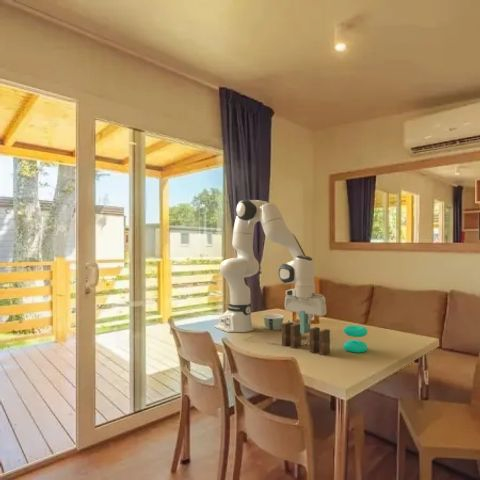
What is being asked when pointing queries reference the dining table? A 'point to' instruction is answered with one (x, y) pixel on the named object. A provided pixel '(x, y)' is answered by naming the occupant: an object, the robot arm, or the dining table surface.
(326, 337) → the domino
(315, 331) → the domino
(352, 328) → the donuts
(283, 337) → the domino
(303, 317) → the domino
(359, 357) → the dining table surface
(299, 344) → the domino
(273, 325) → the food container
